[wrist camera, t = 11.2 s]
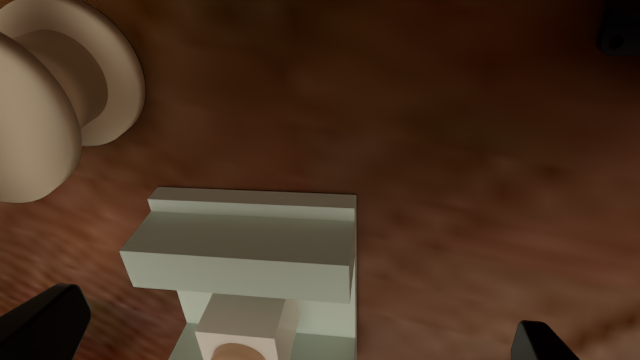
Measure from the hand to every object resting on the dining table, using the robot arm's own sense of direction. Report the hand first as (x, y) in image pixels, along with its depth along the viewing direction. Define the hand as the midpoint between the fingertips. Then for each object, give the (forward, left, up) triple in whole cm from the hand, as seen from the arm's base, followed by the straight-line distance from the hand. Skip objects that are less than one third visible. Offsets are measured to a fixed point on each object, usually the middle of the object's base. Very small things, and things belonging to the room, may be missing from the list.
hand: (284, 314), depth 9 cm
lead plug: (+5, +12, -11) cm, 17 cm away
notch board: (+5, +12, -12) cm, 18 cm away
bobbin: (+13, -1, -12) cm, 18 cm away
